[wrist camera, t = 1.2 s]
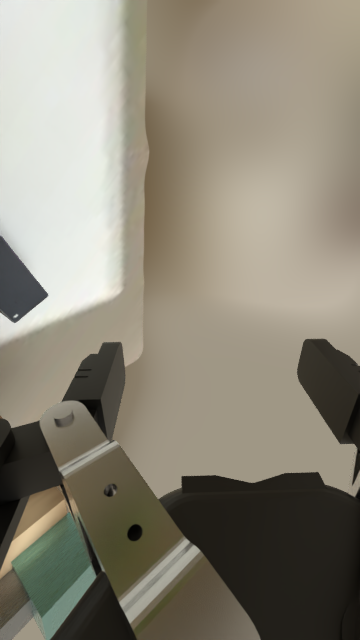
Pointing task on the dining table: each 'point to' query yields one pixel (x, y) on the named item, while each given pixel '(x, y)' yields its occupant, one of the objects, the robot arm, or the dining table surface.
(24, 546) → the stand
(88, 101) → the dining table surface
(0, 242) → the small box
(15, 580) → the bar
